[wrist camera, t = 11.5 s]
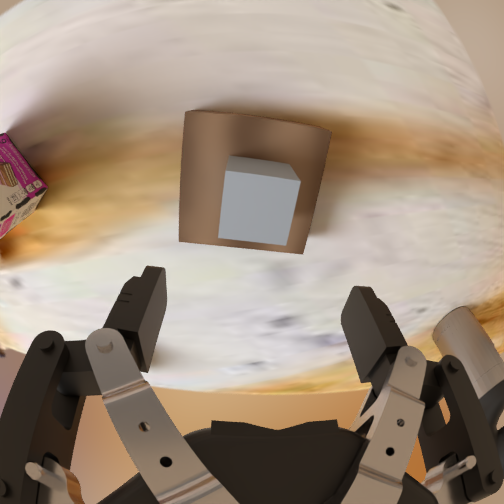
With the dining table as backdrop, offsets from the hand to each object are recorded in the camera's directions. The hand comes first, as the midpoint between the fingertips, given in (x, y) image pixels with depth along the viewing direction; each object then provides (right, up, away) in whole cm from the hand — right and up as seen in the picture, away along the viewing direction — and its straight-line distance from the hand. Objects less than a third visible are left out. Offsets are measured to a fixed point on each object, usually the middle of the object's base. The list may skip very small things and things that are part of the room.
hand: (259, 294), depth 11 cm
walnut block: (-1, +9, +15) cm, 18 cm away
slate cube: (0, +7, +12) cm, 14 cm away
